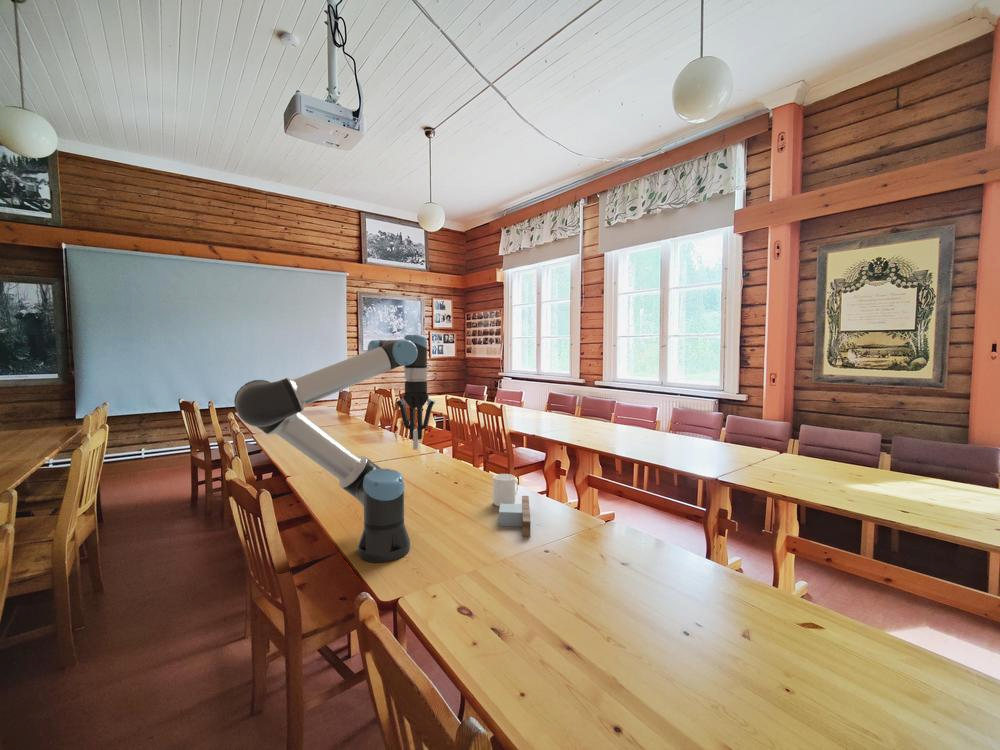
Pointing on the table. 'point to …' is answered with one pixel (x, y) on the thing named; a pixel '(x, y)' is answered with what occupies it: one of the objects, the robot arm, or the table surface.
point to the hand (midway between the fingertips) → (416, 448)
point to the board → (525, 516)
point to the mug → (504, 489)
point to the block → (510, 515)
